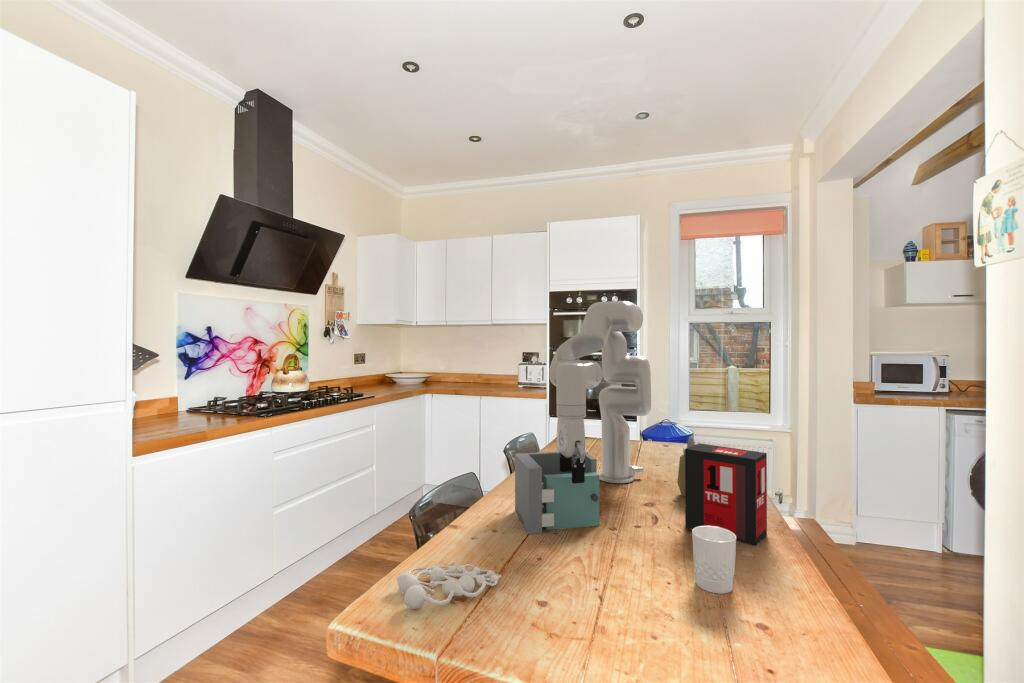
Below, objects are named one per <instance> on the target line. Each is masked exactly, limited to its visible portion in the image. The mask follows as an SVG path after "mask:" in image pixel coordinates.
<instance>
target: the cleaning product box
mask: <svg viewBox="0 0 1024 683" xmlns="http://www.w3.org/2000/svg"><path fill="white" fill-rule="evenodd" d="M685 448H686V449H685V497H684V500H685V501H684V502H685V504H684V505H685V507H684V508H685V511H684V514H685V518H684V520H685V528H687V529H690V530H693V529H694V528H695V527H698V526H714V527H720V528H723V529H726V530H729V531H731V532H732V533H734V534H735V535H736V542H738V543H742V544H746V545H750V546H752V547H757V545H759V543H760V542H762V541H763V539H765V538H766V536H768V530H767V529H768V528H767V526H768V521H767V518H768V512H767V511H768V510H767V508H768V506H767V505H768V502H767V501H768V500H767V499H768V498H767V495H768V492H767V491H768V490H767V489H768V487H767V486H768V485H767V480H768V479H767V478H768V477H767V476H768V475H767V465H768V464H767V458H768V457H767V455H768V454H767V452H764V451H763V452H761V451H757V450H756V451H755V450H747V449H743V448H742V449H741V448H734V447H727V446H721V445H720V446H719V445H712V444H706V443H696V444H695V445H693V446H691V447H688V448H687V447H685Z"/></svg>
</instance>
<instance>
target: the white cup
mask: <svg viewBox="0 0 1024 683" xmlns="http://www.w3.org/2000/svg"><path fill="white" fill-rule="evenodd" d="M691 537H692V553H693V554H692V556H693V567H694V581H695V584H696V585H697V587H699V588H701V589H702V590H704V591H706V592H709V593H714V594H720V595H721V594H722V595H723V594H724V595H725V594H728V593H730V592H733V589H734V576H735V567H736V552H737V550H736V549H737V541H736V535H735V534H734V533H732V532H731V531H729V530H726V529H723V528H720V527H714V526H698V527H695V528H694V529H691Z"/></svg>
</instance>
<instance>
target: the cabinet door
mask: <svg viewBox="0 0 1024 683" xmlns="http://www.w3.org/2000/svg"><path fill="white" fill-rule="evenodd" d="M544 489H554V502H544V513H554V526H548V527H544V528H545V530H547V531H549V530H563V529H564V530H565V529H573V528H585V527H587V528H588V527H589V528H590V527H600V480H599V475H598V472H597V473H596V472H587V473H585V482H584V483H572V473H570V474H553V475H544Z"/></svg>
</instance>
